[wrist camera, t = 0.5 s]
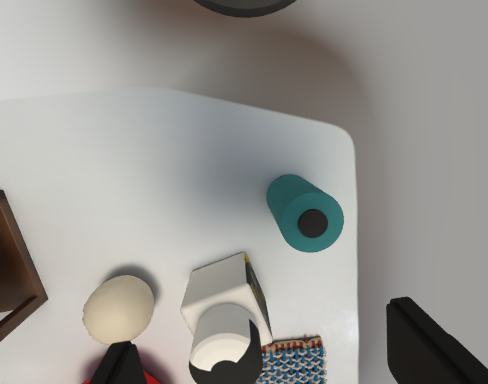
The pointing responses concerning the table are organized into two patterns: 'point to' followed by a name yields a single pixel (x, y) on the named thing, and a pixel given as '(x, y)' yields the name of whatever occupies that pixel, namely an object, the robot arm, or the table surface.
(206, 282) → the medicine bottle
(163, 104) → the table surface
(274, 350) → the woven mat
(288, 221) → the teal cylinder
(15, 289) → the rack
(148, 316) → the cream round ball
